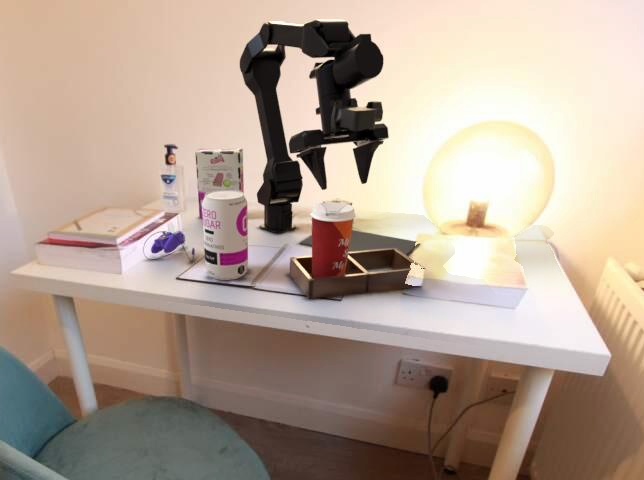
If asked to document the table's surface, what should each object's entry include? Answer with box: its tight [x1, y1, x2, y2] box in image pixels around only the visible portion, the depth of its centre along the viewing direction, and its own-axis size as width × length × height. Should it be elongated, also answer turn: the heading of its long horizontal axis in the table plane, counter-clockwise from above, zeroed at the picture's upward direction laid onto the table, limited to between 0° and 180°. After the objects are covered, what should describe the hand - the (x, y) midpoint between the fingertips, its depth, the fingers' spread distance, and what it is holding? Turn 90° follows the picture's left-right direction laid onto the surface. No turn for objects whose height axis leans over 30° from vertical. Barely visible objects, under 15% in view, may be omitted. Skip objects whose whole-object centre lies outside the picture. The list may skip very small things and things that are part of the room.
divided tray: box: [289, 248, 426, 300], centre depth 90 cm, size 11×21×4 cm, turn 102°
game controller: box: [142, 230, 196, 263], centre depth 101 cm, size 10×8×10 cm
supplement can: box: [202, 190, 249, 281], centre depth 92 cm, size 8×8×15 cm
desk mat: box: [299, 229, 417, 256], centre depth 108 cm, size 22×14×1 cm, turn 55°
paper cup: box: [309, 202, 357, 278], centre depth 87 cm, size 8×8×14 cm
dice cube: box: [322, 198, 353, 206], centre depth 121 cm, size 5×5×5 cm
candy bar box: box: [195, 148, 245, 219], centre depth 124 cm, size 11×5×16 cm, turn 81°
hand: (344, 186), depth 93 cm, fingers open, 9 cm apart
